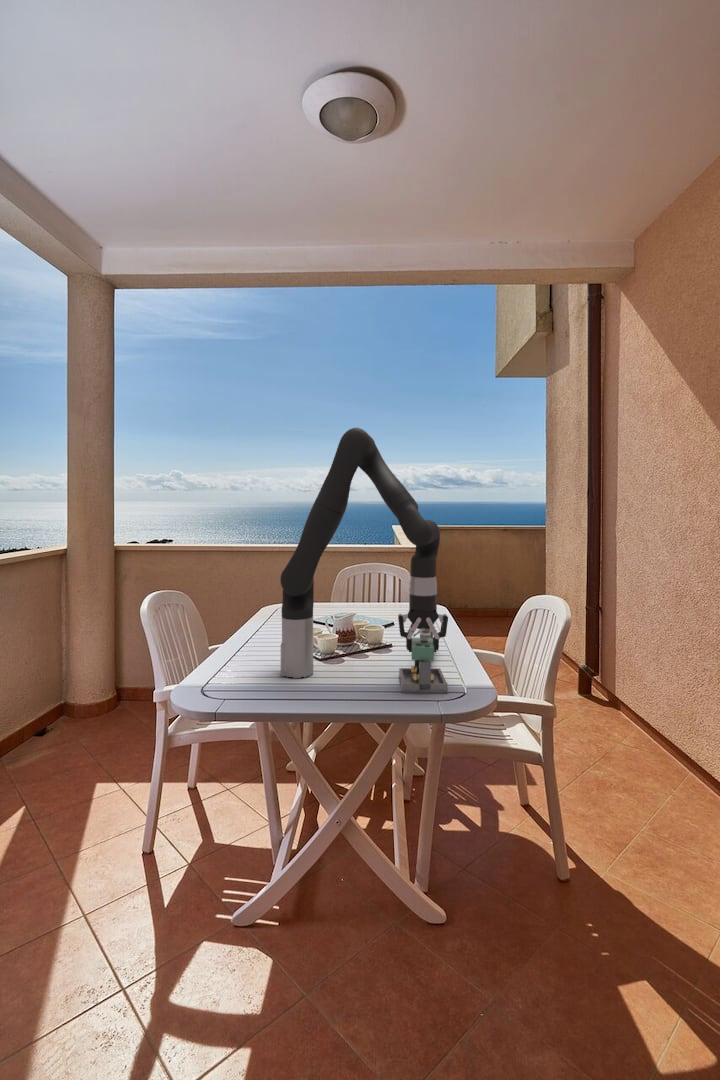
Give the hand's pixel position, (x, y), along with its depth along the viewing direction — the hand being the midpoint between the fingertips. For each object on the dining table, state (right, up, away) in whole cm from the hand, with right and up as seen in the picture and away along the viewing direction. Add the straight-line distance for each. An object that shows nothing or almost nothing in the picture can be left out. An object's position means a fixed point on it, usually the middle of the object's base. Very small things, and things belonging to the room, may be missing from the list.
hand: (422, 651), depth 140 cm
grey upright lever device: (+4, -8, +26) cm, 28 cm away
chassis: (0, -9, +1) cm, 10 cm away
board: (0, -1, 0) cm, 1 cm away
